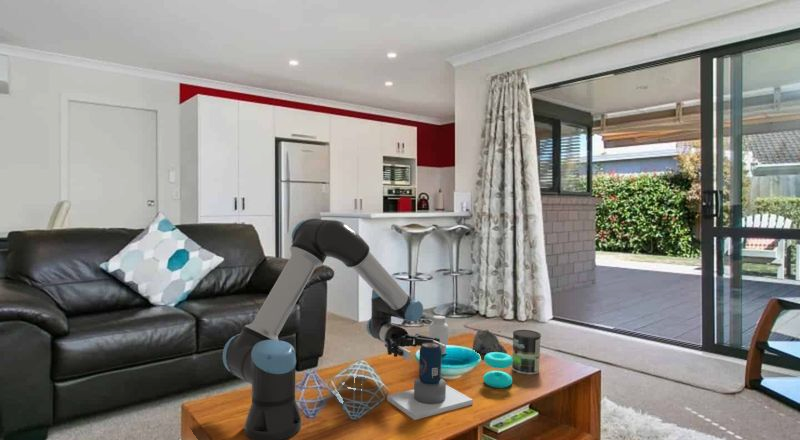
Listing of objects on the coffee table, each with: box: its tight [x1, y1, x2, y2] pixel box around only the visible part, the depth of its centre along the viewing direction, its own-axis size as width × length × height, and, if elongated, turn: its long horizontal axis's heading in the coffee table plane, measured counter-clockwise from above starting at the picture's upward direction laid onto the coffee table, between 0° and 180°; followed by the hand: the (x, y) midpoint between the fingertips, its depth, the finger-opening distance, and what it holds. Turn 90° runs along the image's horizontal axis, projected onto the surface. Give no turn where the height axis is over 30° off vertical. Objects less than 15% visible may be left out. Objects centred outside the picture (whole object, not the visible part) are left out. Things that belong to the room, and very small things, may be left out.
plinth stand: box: [386, 377, 474, 421], centre depth 154 cm, size 22×16×6 cm
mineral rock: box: [472, 329, 508, 355], centre depth 202 cm, size 13×11×10 cm
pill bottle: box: [428, 315, 449, 346], centre depth 203 cm, size 8×8×15 cm
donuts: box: [483, 352, 513, 389], centre depth 170 cm, size 10×10×10 cm
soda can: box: [418, 342, 443, 385], centre depth 153 cm, size 7×7×12 cm
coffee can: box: [511, 329, 542, 375], centre depth 184 cm, size 10×10×14 cm
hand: (427, 353), depth 155 cm, fingers open, 13 cm apart
